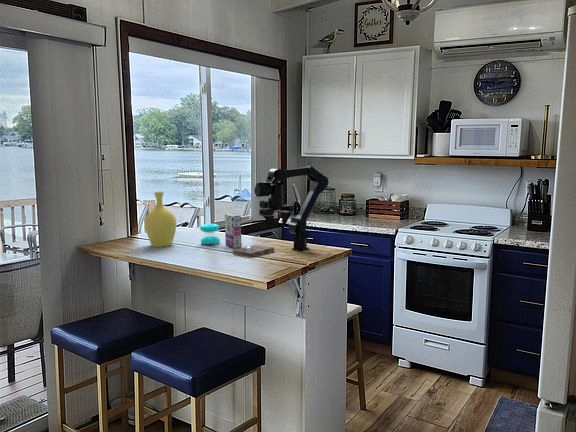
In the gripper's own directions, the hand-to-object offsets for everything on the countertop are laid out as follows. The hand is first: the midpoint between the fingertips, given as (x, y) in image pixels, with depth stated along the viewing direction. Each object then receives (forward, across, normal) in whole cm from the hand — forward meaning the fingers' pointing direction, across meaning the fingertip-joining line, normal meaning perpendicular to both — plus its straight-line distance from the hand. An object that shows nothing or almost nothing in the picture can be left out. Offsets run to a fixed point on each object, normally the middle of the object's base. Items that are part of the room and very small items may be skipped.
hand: (277, 228), depth 237 cm
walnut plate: (+12, +7, -10) cm, 17 cm away
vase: (+12, +22, -63) cm, 68 cm away
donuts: (+12, +4, -45) cm, 47 cm away
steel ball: (+10, +10, -9) cm, 17 cm away
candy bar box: (+12, +2, -29) cm, 32 cm away
